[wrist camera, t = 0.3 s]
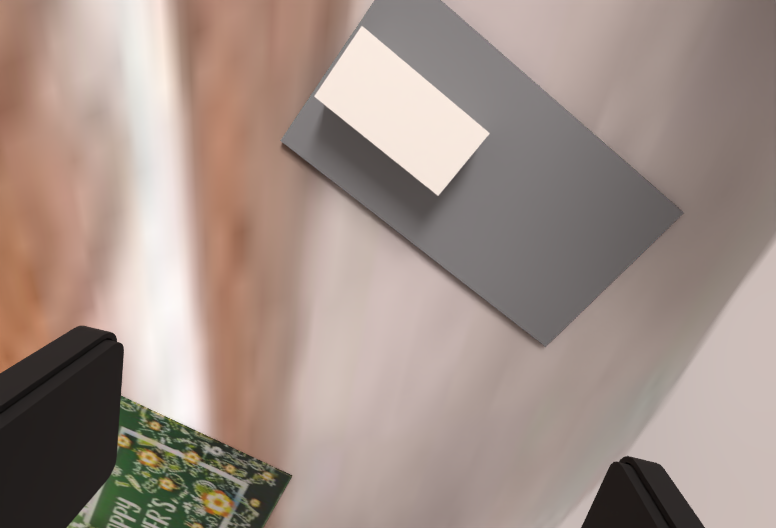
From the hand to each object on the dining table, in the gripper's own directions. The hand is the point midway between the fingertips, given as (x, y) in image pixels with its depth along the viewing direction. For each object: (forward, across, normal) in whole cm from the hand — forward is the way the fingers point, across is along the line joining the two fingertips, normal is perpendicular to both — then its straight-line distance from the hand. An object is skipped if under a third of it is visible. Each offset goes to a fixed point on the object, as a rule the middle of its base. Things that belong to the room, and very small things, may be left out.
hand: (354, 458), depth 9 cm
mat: (+28, -5, -3) cm, 29 cm away
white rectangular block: (+28, +1, -6) cm, 28 cm away
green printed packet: (+30, +18, +41) cm, 54 cm away
